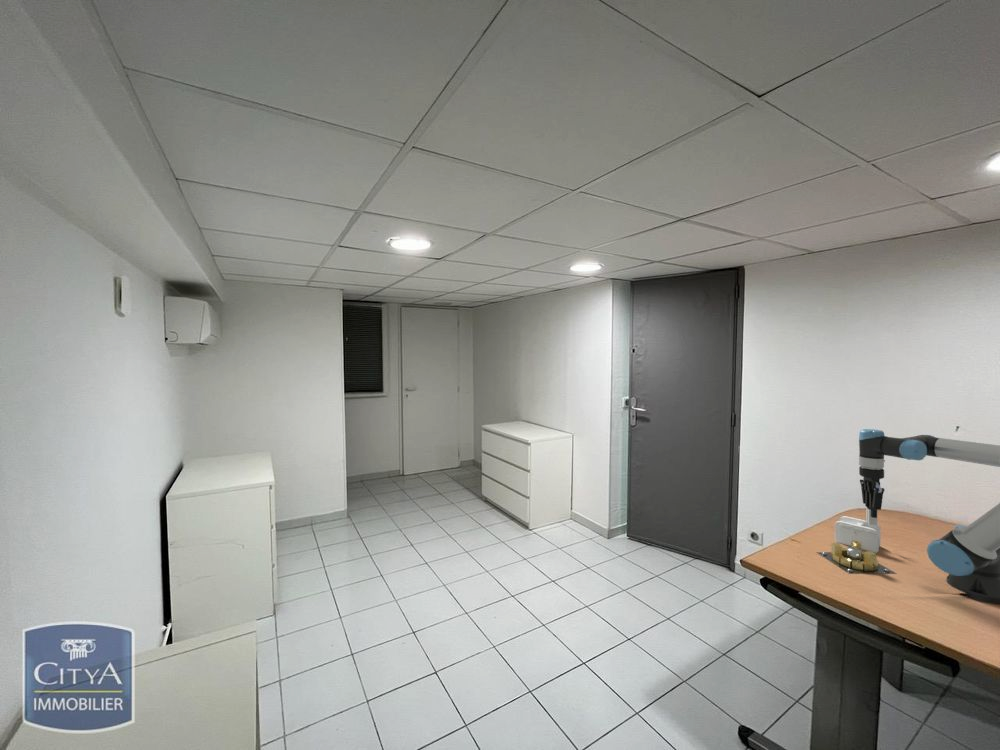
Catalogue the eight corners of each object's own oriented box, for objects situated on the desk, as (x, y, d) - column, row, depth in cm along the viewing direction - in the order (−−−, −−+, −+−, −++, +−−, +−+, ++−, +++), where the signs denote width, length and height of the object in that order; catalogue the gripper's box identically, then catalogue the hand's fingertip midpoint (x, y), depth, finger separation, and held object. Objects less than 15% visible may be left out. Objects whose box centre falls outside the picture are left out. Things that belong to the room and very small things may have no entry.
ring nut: (888, 570, 160) (888, 554, 159) (849, 570, 160) (849, 554, 160) (858, 553, 174) (857, 538, 174) (823, 553, 175) (822, 538, 175)
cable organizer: (883, 549, 180) (883, 524, 180) (877, 557, 174) (877, 530, 174) (841, 538, 193) (840, 514, 192) (833, 545, 186) (833, 520, 186)
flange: (896, 577, 158) (896, 560, 158) (848, 577, 159) (848, 559, 159) (858, 555, 176) (858, 539, 176) (816, 555, 177) (815, 539, 177)
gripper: (893, 472, 157) (893, 531, 157) (873, 463, 170) (873, 518, 170) (869, 471, 159) (869, 529, 160) (851, 462, 172) (852, 516, 173)
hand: (871, 523), depth 165 cm, fingers closed
